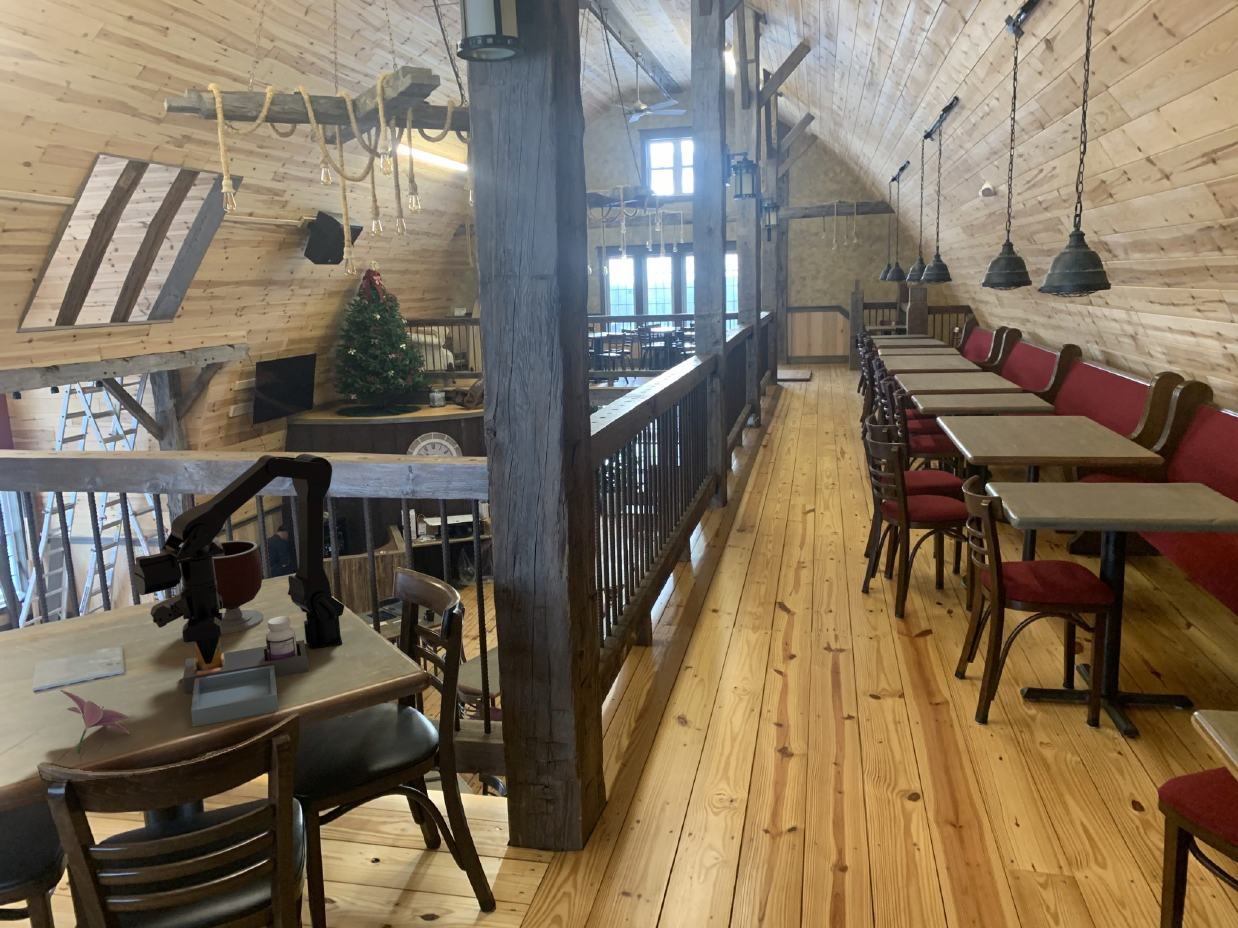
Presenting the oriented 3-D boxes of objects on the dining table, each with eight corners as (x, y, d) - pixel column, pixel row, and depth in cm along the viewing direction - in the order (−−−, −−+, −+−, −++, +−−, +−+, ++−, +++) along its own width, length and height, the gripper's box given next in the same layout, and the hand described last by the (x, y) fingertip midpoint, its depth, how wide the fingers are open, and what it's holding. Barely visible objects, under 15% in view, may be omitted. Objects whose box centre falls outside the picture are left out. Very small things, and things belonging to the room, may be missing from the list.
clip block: (305, 653, 180) (303, 634, 179) (308, 671, 172) (306, 651, 171) (187, 673, 172) (185, 653, 171) (185, 693, 164) (182, 672, 163)
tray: (275, 679, 168) (274, 664, 168) (278, 710, 156) (276, 694, 156) (196, 693, 163) (194, 678, 163) (193, 726, 151) (191, 710, 150)
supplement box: (207, 684, 167) (201, 633, 165) (199, 679, 169) (192, 629, 167) (225, 677, 169) (218, 628, 168) (216, 673, 172) (210, 624, 170)
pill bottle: (273, 661, 177) (268, 615, 175) (301, 660, 177) (296, 614, 175) (265, 673, 171) (260, 625, 169) (294, 671, 172) (289, 624, 170)
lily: (136, 756, 144) (149, 695, 147) (54, 753, 136) (69, 689, 139) (114, 753, 152) (127, 695, 155) (36, 750, 145) (50, 690, 148)
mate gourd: (279, 620, 198) (270, 534, 194) (218, 639, 188) (207, 549, 184) (245, 605, 208) (236, 523, 204) (185, 622, 198) (174, 536, 194)
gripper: (154, 572, 171) (165, 648, 174) (145, 603, 154) (157, 687, 157) (218, 564, 175) (227, 638, 178) (216, 593, 158) (225, 675, 161)
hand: (208, 658), depth 169 cm, fingers closed on supplement box, 4 cm apart
